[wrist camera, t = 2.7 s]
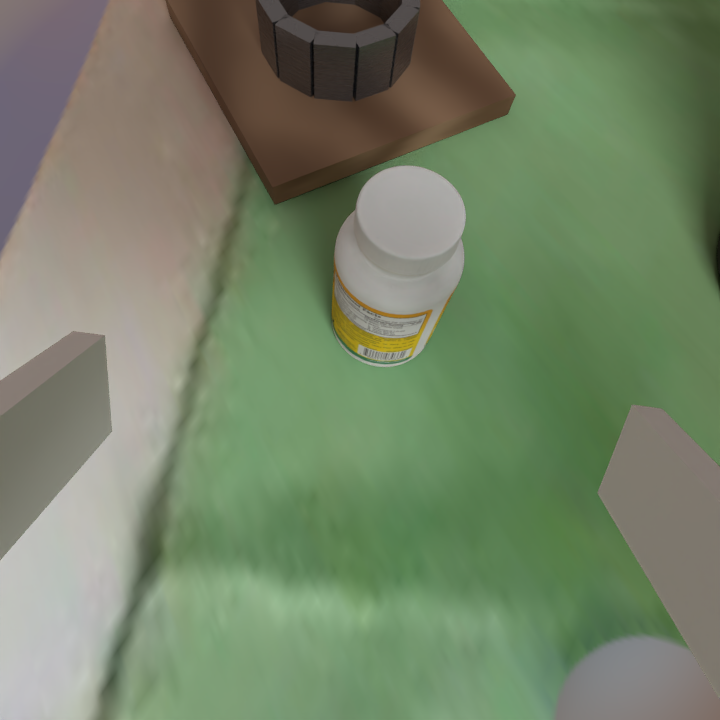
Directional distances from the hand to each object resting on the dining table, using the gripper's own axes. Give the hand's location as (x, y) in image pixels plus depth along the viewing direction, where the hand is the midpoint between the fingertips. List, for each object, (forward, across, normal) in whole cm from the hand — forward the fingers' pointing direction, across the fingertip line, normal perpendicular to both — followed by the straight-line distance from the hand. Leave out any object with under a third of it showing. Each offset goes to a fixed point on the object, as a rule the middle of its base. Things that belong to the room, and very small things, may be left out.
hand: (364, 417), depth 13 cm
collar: (+26, -4, +11) cm, 28 cm away
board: (+27, -4, +10) cm, 29 cm away
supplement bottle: (+15, +1, -3) cm, 15 cm away
